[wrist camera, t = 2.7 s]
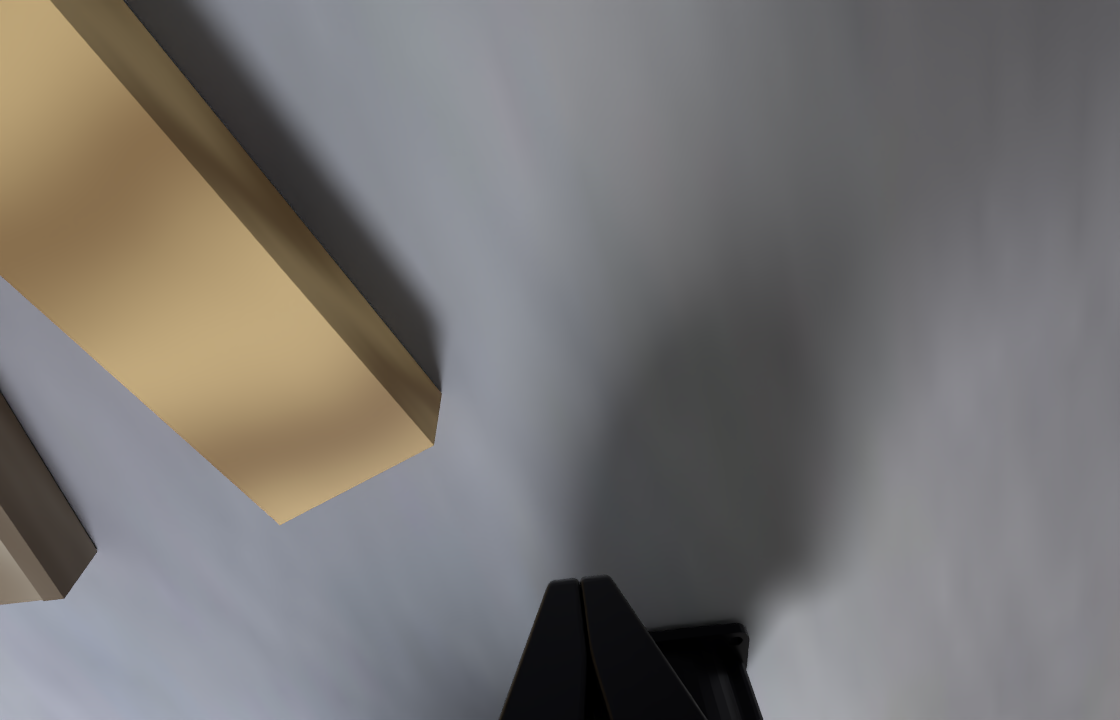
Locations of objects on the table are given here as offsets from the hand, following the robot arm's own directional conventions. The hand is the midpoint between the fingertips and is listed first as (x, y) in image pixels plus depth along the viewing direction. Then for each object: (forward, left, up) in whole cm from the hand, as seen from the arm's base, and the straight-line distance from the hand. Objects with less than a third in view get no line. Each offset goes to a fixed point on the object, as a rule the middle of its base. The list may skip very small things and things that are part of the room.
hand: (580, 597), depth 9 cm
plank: (+9, -4, -10) cm, 14 cm away
